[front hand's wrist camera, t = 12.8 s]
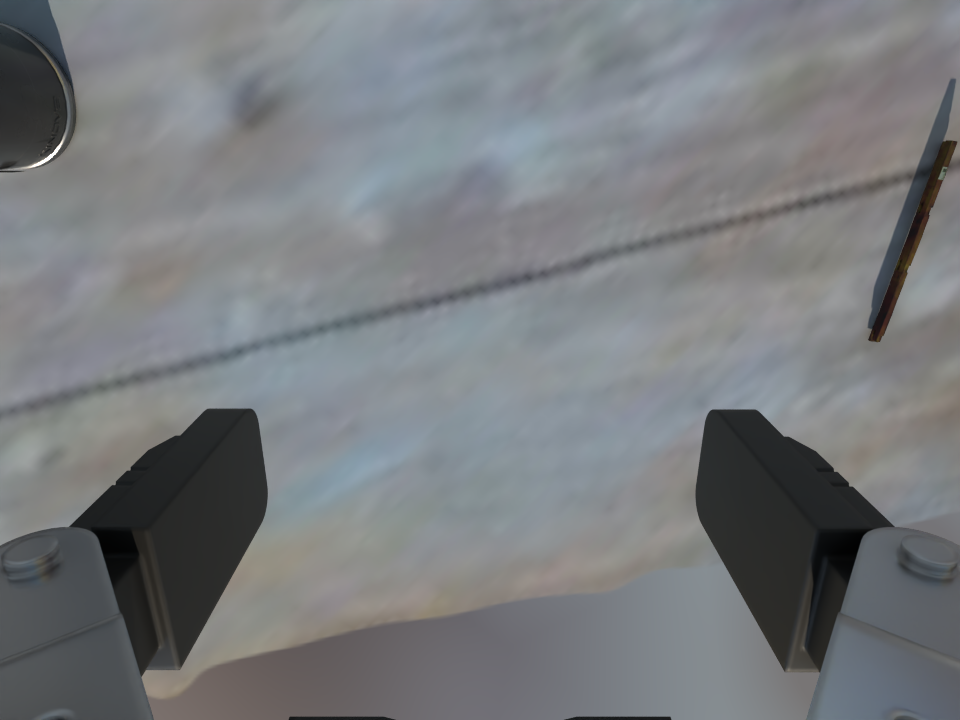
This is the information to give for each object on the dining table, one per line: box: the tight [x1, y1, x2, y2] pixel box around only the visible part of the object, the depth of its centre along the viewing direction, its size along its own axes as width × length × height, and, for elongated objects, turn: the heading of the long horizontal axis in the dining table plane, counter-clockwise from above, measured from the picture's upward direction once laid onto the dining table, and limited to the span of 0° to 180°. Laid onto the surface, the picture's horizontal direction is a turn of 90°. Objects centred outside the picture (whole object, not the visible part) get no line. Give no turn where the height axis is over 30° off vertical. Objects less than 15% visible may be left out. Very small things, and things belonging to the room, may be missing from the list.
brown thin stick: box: [868, 141, 957, 342], centre depth 46 cm, size 15×1×1 cm, turn 172°
